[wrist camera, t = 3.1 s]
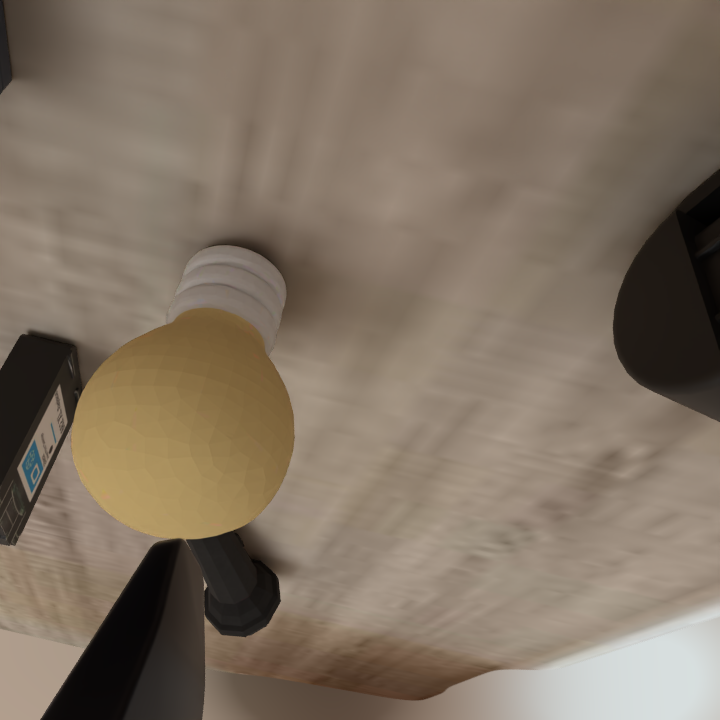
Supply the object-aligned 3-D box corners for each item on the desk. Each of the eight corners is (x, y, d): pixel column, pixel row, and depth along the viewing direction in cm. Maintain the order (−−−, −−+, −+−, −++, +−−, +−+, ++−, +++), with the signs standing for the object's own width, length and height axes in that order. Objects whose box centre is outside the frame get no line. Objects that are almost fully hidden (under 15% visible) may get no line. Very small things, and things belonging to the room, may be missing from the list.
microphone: (160, 406, 37) (241, 568, 51) (94, 482, 33) (201, 634, 47) (236, 430, 35) (299, 592, 49) (174, 514, 31) (261, 663, 45)
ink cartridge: (86, 399, 31) (15, 553, 26) (39, 388, 31) (-41, 542, 26) (77, 341, 28) (-7, 509, 23) (24, 328, 27) (-73, 495, 22)
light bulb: (122, 210, 21) (-18, 471, 15) (301, 195, 20) (226, 474, 14) (193, 332, 26) (109, 566, 20) (341, 327, 25) (299, 576, 19)
